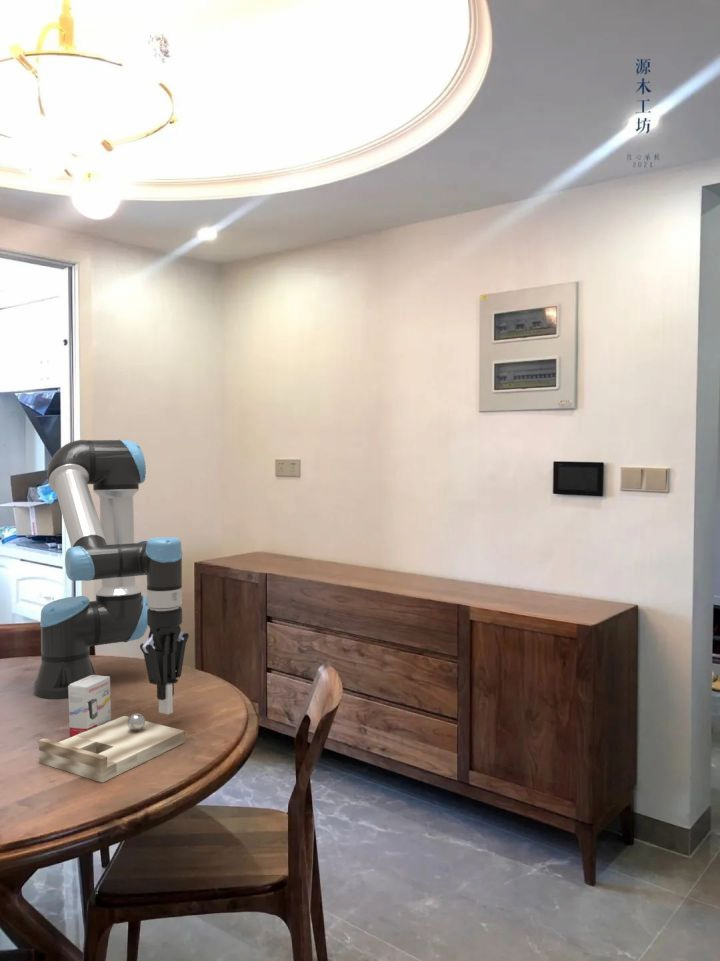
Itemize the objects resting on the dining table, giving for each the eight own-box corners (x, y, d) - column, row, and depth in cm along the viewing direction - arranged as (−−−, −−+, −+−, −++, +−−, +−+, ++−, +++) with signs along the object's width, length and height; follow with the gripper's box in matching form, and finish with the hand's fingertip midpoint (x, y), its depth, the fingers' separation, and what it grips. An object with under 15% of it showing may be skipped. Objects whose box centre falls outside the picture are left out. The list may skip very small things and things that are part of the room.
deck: (39, 762, 147) (38, 740, 147) (124, 726, 166) (124, 706, 166) (102, 782, 138) (102, 758, 138) (184, 742, 158) (184, 721, 157)
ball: (123, 731, 157) (123, 715, 157) (136, 726, 160) (136, 709, 160) (135, 735, 155) (135, 718, 155) (148, 729, 158) (148, 712, 158)
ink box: (87, 742, 158) (86, 687, 157) (67, 739, 159) (66, 685, 159) (112, 727, 166) (112, 675, 165) (93, 725, 167) (92, 673, 167)
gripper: (155, 614, 157) (156, 724, 158) (197, 603, 168) (198, 706, 169) (130, 611, 160) (131, 718, 161) (172, 600, 172) (173, 701, 173)
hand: (165, 712), depth 165 cm, fingers closed
